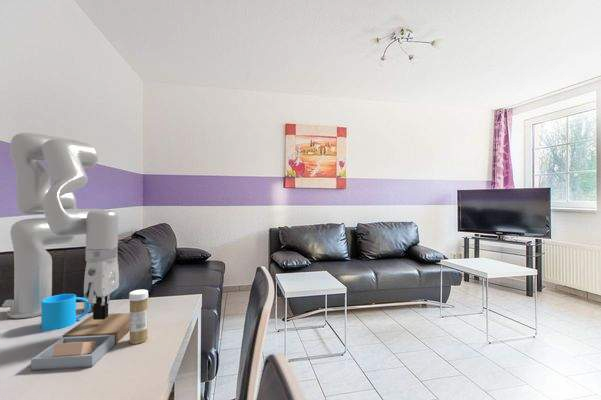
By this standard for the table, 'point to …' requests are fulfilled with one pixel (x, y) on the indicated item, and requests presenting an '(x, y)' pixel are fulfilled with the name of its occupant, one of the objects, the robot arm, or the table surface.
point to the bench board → (103, 327)
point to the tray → (73, 361)
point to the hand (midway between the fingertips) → (100, 318)
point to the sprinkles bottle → (138, 316)
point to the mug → (60, 311)
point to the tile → (73, 348)
